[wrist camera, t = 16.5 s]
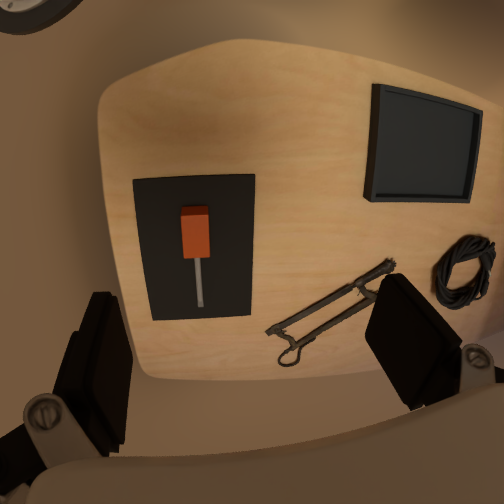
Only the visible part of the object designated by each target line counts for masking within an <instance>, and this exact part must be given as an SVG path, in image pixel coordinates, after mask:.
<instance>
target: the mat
mask: <svg viewBox="0 0 504 504" xmlns="http://www.w3.org/2000/svg"><path fill="white" fill-rule="evenodd" d="M133 192H134V202H135V211H136V219H137V227H138V235H139V242H140V250H141V256H142V263H143V269H144V275H145V281H146V287H147V292H148V298H149V303H150V308H151V314H152V319H153V321H154V320H180V319H200V318H218V317H233V316H246V315H251V299H252V267H253V236H254V204H255V174H229V175H199V176H178V177H161V178H147V179H134V180H133ZM188 206H208V214H209V243H210V257H204V258H200V263H201V279H202V293H203V306H204V307H198V299H197V287H196V274H195V261H194V258H184V254H183V242H182V229H181V210H182V207H188Z"/></svg>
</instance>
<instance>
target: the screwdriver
mask: <svg viewBox="0 0 504 504" xmlns="http://www.w3.org/2000/svg"><path fill="white" fill-rule="evenodd" d="M181 229H182V242H183V254H184V258H194V261H195V274H196V287H197V299H198V307H204V306H203V293H202V279H201V263H200V258H204V257H210V243H209V214H208V206H188V207H182V210H181Z"/></svg>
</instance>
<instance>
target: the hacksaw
mask: <svg viewBox="0 0 504 504" xmlns="http://www.w3.org/2000/svg"><path fill="white" fill-rule="evenodd" d="M395 264H397V263H395V261H393V263H392V262H391V261H390V260H389V259H388V260H387V261H386V262H385V263H384V264H382V265H381V266H379V267H378V268H377V269H375V270H373V271H372V272H370V273H368V274H367V275H365V276H364V277H361V278H360V279H358V280H357V281H355V284H354V285H352V286H351V285H349V286H348V287H346V288H344V289H342V290H340V291H339V292H337V293H335V294H334V295H332V296H330V297H328V298H327V299H325V300H323V301H321V302H319V303H318V304H316V305H314V306H312V307H311V308H309V309H307V310H305V311H303V312H301V313H300V314H298V315H296V316H294V317H292V318H291V319H289V320H287V321H285V322H283V323H281V324H279V325H278V324H276V325H274V326H272V327H271V329H270V330H268V331H266V332H265V333H266V334H267V335H268V336H270V335H272V334H276V335H278V336H279V337H280V338H283V339H285V340H288V341H289V343H290V345H291V347H289V349H288V350H285V351H284V353H283V354H282V355H281V356H280V357H279V359H278V364H279V365H281V366H283V367H290V366H294V365H296V364H297V363H299V361H300V353H301V350H302V348H303V347H304V346H305V345H307V344H309V343H310V342H313V341H314V340H315V339H316V338H314V337H316V336H318V335H319V334H321V333H322V332H323V331H326V330H328V329H329V328H331V327H332V326H334V325H336V324H338V323H340V322H342V321H343V320H344V319H347V318H348V317H351V316H352V315H353V314H356V313H357V312H359V311H360V310H362V309H364V308H366V307H367V306H369V305H371V304H372V303H374V302H375V301H376V298H377V294H378V293H377V294H375V293H374V292H368V291H367V290H366V288H365V286H364V285H365V284H366V283H368V282H370V281H372V280H374V279H376V278H378V277H379V276H381V275H383V274H390V273H391V272H393V271H394V267H396V265H395ZM355 287H357V288H358V287H359V289H360V291H361V293H362V295H364V296H365V297H367V298H368V299H366V300H365V301H363V302H362V303H360V304H358V305H357V306H355V307H353V308H351V309H350V310H349V311H347V312H345V313H344V314H342V315H340V316H338V317H337V318H335V319H333V320H332V321H330V322H329V323H327V324H325V325H323V326H322V327H320V328H318V329H317V330H315V331H313V332H312V333H310V334H308V335H307V336H306V337H304V338H302V339H301V340H299V341H298V342H297V343H296V341H295V340H294V339H293V338H292V337H290V336H287V335H285V334H284V332H287V331H282V329H284V328H286V327H287V326H289V325H291V324H293V323H295V322H297V321H299V320H301V319H302V318H304V317H306V316H308V315H310V314H312V313H313V312H315V311H317V310H319V309H321V308H322V307H324V306H326V305H328V304H329V303H331V302H333V301H335V300H337V299H338V298H340V297H342V296H343V295H345V294H347V293H349V292H350V291H352V290H353V288H355ZM360 291H359V293H360ZM358 295H359V294H358ZM358 295H357V296H358ZM307 341H308V342H307ZM304 343H305V344H304ZM302 344H303V345H302ZM301 345H302V346H301ZM300 346H301V347H300ZM297 347H300V349H299V352H298V360H297V362H295V363H294V364H290V365H283V364H281V363H280V359H281V358H282V356H284V355H285V354H287V353H288V352H289V351H294V350H295V349H296V348H297Z"/></svg>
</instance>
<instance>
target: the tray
mask: <svg viewBox="0 0 504 504" xmlns="http://www.w3.org/2000/svg"><path fill="white" fill-rule="evenodd" d="M482 118H483V111H482V110H479V109H476V108H473V107H470V106H467V105H464V104H461V103H457V102H454V101H451V100H447V99H444V98H440V97H436V96H432V95H429V94H425V93H421V92H416V91H412V90H408V89H403V88H399V87H394V86H389V85H384V84H372V99H371V118H370V133H369V146H368V157H367V167H366V177H365V186H364V194H363V197H364V198H365V199H366V200H368V201H369V202H433V203H470V200H471V195H472V190H473V185H474V179H475V173H476V167H477V161H478V154H479V146H480V138H481V129H482Z"/></svg>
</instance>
